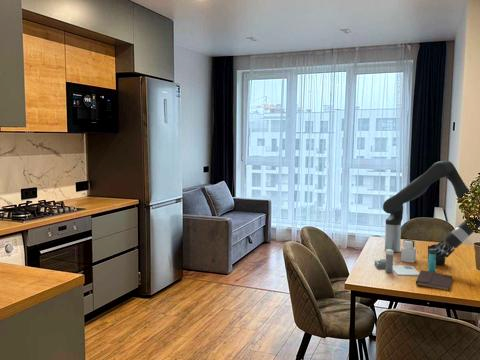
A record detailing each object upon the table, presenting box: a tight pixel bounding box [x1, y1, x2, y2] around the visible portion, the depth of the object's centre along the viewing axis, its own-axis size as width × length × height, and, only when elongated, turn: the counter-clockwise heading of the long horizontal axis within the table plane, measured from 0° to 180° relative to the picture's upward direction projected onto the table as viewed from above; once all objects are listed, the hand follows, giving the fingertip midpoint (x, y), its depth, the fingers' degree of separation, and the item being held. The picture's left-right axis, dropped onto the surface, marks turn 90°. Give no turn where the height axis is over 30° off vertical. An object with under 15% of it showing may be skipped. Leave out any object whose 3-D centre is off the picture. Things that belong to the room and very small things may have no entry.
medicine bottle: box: [400, 239, 417, 264], centre depth 248 cm, size 7×7×12 cm
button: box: [379, 257, 386, 263], centre depth 236 cm, size 3×3×3 cm
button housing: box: [374, 260, 386, 270], centre depth 236 cm, size 7×7×2 cm
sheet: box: [393, 265, 420, 277], centre depth 228 cm, size 16×12×1 cm
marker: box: [427, 249, 437, 273], centre depth 227 cm, size 4×4×12 cm
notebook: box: [415, 269, 453, 292], centre depth 210 cm, size 15×20×2 cm
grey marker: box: [384, 249, 394, 274], centre depth 226 cm, size 4×4×12 cm
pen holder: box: [427, 243, 446, 266], centre depth 242 cm, size 9×9×10 cm
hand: (433, 258), depth 226 cm, fingers open, 8 cm apart
